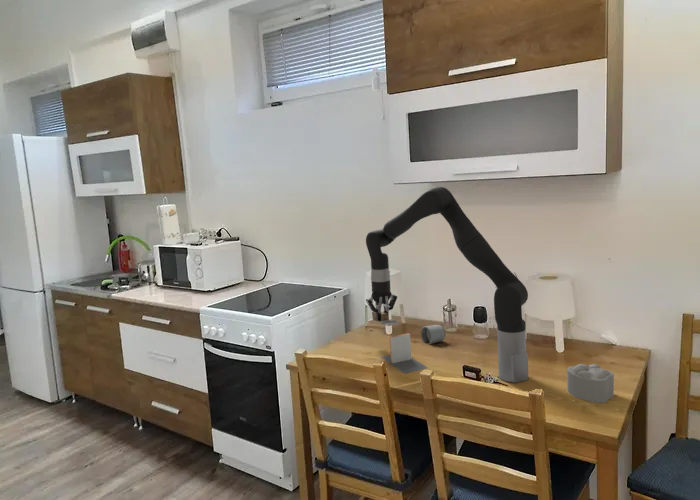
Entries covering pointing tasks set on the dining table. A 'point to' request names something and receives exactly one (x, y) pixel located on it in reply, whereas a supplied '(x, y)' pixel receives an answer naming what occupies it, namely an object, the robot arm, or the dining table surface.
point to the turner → (385, 319)
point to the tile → (400, 348)
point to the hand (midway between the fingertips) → (382, 320)
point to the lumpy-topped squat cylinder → (590, 383)
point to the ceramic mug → (433, 334)
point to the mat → (406, 364)
